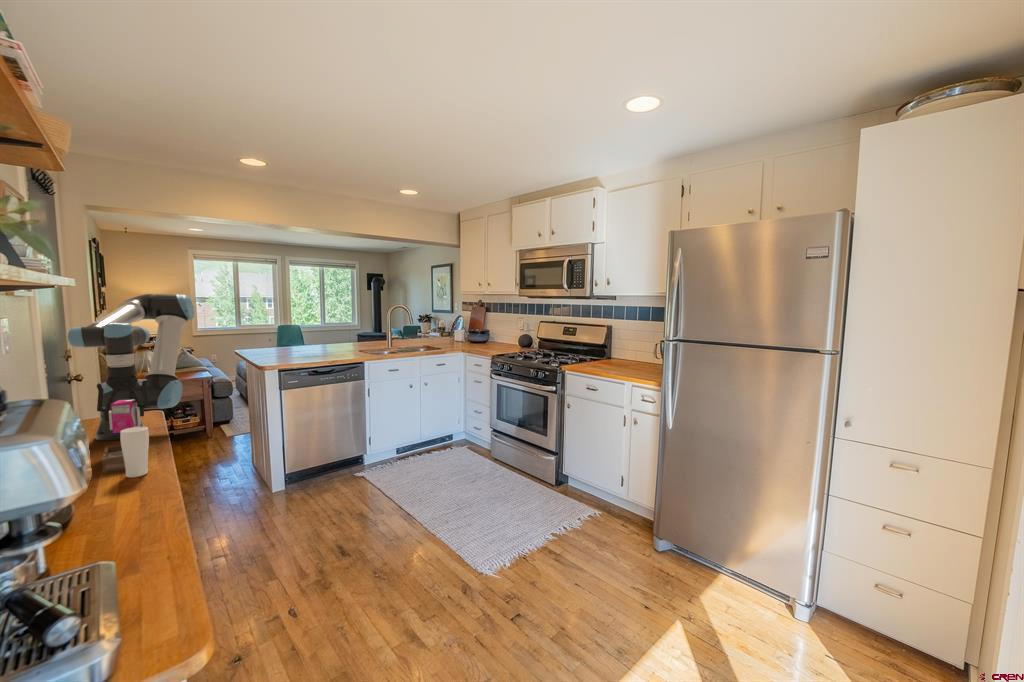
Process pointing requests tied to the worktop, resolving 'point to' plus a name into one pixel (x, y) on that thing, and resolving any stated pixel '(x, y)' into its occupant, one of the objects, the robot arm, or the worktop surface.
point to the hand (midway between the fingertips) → (125, 427)
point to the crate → (113, 459)
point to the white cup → (135, 450)
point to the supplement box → (124, 415)
